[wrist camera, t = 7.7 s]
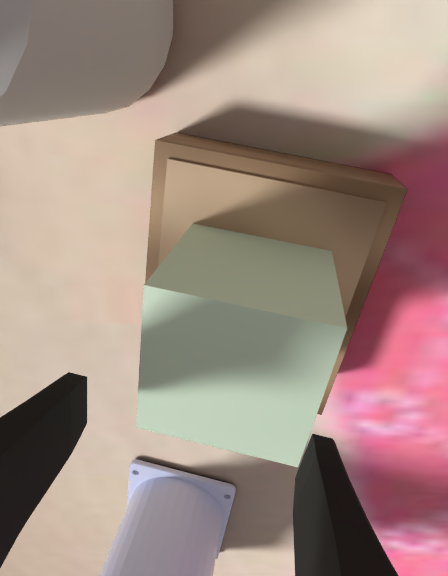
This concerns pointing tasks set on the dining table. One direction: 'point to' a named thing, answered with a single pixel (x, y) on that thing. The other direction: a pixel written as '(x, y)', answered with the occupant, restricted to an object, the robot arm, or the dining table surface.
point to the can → (79, 56)
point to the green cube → (239, 342)
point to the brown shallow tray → (276, 208)
